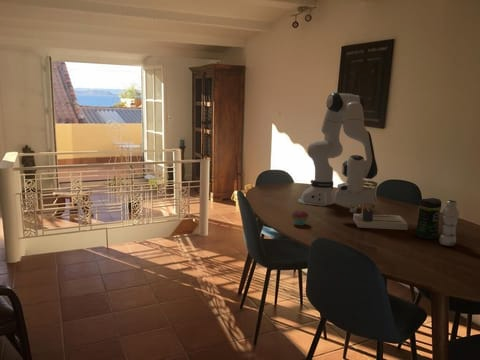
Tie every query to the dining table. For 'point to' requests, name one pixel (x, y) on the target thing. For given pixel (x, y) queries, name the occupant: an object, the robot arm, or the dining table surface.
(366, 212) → the fader
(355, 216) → the console
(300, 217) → the cupcake
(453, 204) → the plastic bottle
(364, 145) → the robot arm
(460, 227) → the dining table surface
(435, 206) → the coffee jar
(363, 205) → the fader
